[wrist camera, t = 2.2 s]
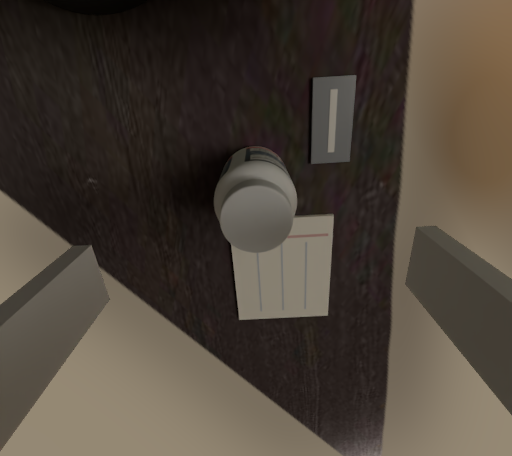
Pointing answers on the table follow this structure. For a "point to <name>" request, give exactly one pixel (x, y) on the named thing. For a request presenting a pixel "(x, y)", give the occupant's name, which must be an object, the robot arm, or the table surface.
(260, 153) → the pill bottle
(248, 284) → the paper
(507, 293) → the robot arm
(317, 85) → the grey striped flat block
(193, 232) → the table surface
